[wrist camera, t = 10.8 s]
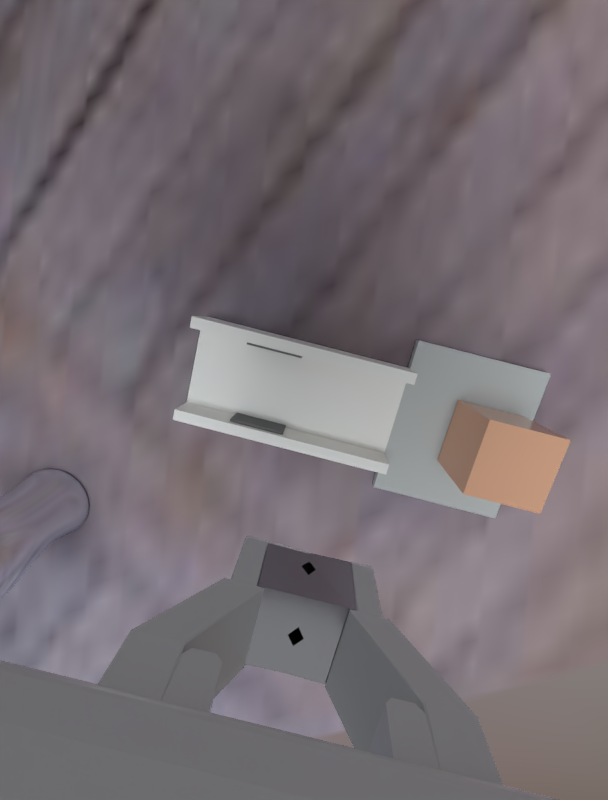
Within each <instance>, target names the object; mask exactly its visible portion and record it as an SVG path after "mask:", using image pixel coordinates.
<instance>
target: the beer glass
mask: <svg viewBox="0 0 608 800" xmlns="http://www.w3.org/2000/svg"><path fill="white" fill-rule="evenodd" d="M88 510H89V502H88V497H87V494H86V492H85V490H84V488H83V487H82V485H81V484H80V483H79V482H78V481H77V480H76V479H75V478H74V477H73V476H71V475H70V474H68V473H66V472H64V471H61V470H56V469H44V470H40V471H37V472H35V473H33V474H31V475H30V476H28V477H27V478H26V479H25V480H23V481H22V482H21V483H20V484H19V485H18V486H16V487H15V488H14V489H13V490H11V491H9V492H8V493H6V494H4V495H2V496H0V600H1V599H2V598H3V597H4V596H5V595H6V594H7V593H8V592H9V591H10V590H11V588H12V587H13V586H14V585H15V584H16V583H17V582H18V580H19V579H20V578H21V577H22V576H23V574H24V573H25V572H26V571H27V570H28V568H29V567H30V566H31V565H32V563H33V562H34V561H35V560H36V559H37V557H38V556H39V555H40V554H41V553H42V552H43V551H44V550H45V549H46V548H47V547H48V546H49V545H50V544H51V543H52V542H54V541H55V540H57V539H59V538H61V537H63V536H65V535H67V534H69V533H71V532H72V531H74V530H76V529H77V528H78V527H80V526H81V525H82V524H83V522H84V521H85V519H86V517H87V514H88Z"/></svg>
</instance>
